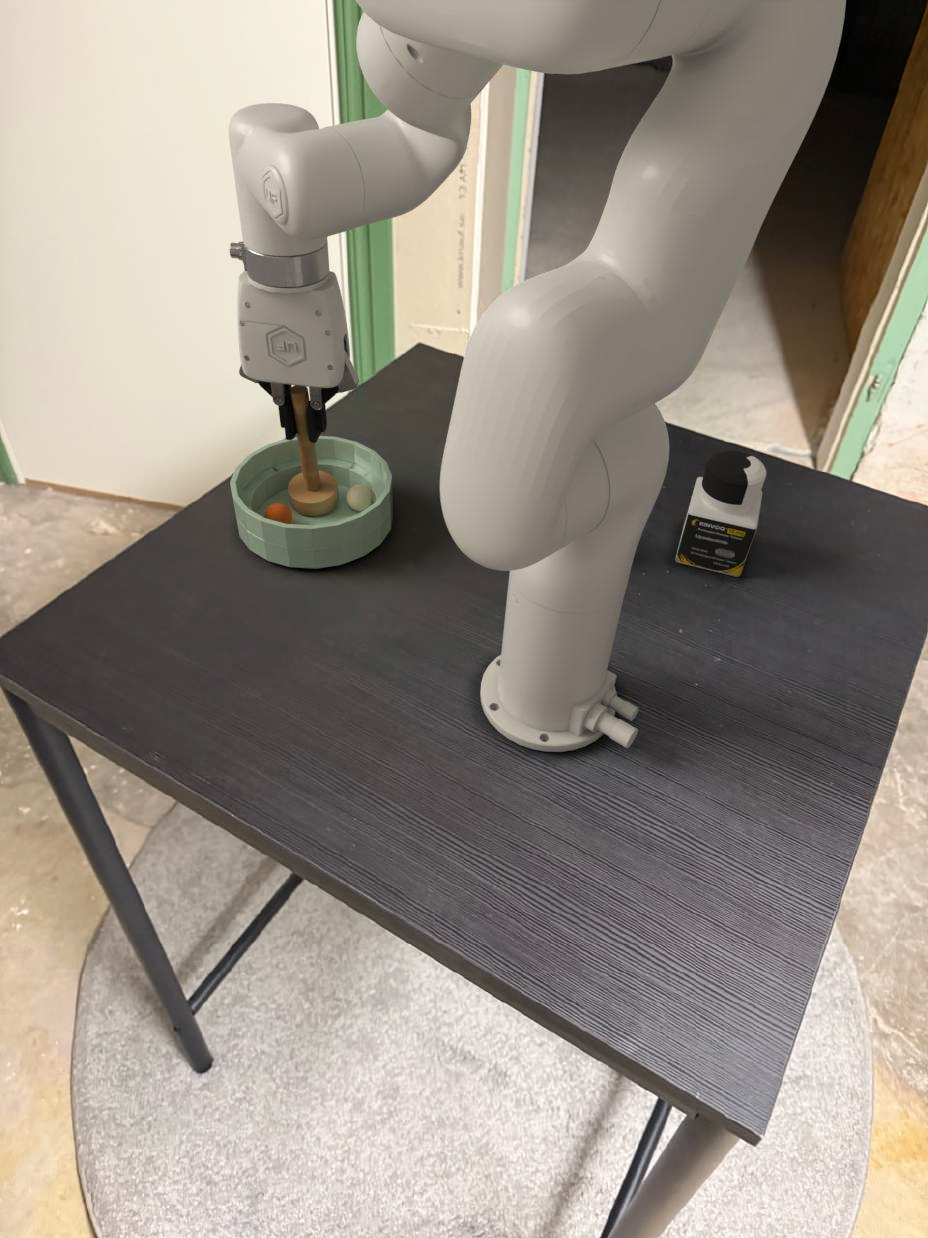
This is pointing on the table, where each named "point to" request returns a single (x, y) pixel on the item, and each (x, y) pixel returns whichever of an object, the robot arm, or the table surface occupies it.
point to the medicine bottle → (723, 513)
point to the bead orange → (278, 513)
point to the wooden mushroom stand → (309, 467)
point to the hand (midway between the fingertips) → (304, 433)
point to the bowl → (312, 536)
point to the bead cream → (359, 497)
